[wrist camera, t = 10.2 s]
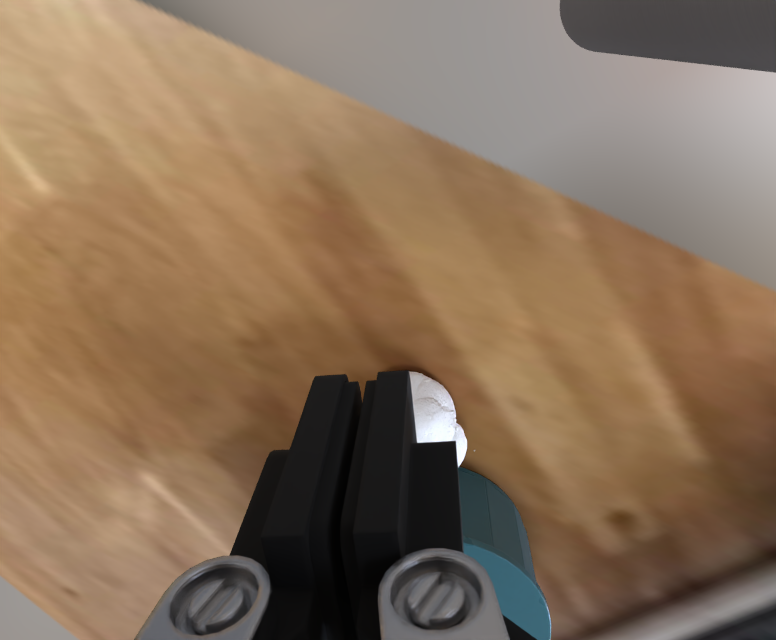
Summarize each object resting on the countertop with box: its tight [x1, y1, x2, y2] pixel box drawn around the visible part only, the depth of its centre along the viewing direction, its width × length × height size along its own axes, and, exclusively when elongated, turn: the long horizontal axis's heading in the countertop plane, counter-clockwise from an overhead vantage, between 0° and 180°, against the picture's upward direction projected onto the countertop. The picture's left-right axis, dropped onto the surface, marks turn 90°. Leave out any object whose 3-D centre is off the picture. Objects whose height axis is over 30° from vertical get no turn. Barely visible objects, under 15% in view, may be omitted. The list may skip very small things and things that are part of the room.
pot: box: [458, 467, 536, 581], centre depth 38 cm, size 13×13×6 cm
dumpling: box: [409, 371, 475, 467], centre depth 35 cm, size 7×5×4 cm
